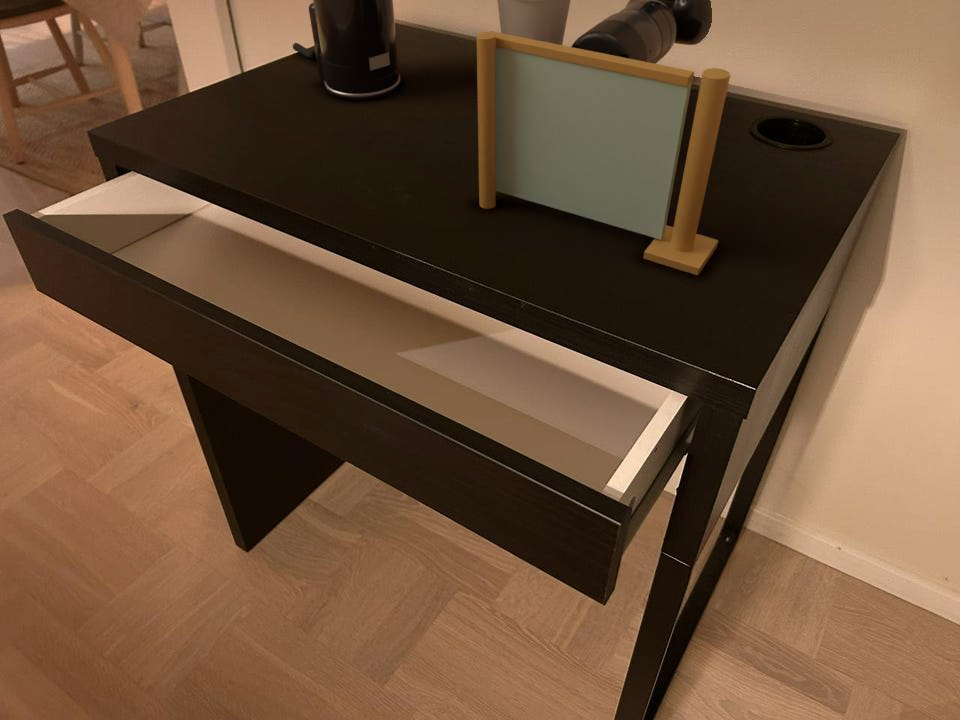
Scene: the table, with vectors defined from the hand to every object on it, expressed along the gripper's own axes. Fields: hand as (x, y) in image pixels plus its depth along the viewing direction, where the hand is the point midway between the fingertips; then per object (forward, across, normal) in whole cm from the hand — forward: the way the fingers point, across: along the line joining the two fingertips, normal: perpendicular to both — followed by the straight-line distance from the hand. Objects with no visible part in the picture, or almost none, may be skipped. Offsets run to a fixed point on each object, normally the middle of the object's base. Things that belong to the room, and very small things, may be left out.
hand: (539, 115), depth 70 cm
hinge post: (+4, +17, +7) cm, 19 cm away
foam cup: (-24, -14, +8) cm, 29 cm away
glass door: (+4, +6, +6) cm, 9 cm away
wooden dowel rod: (+5, -2, +8) cm, 10 cm away
